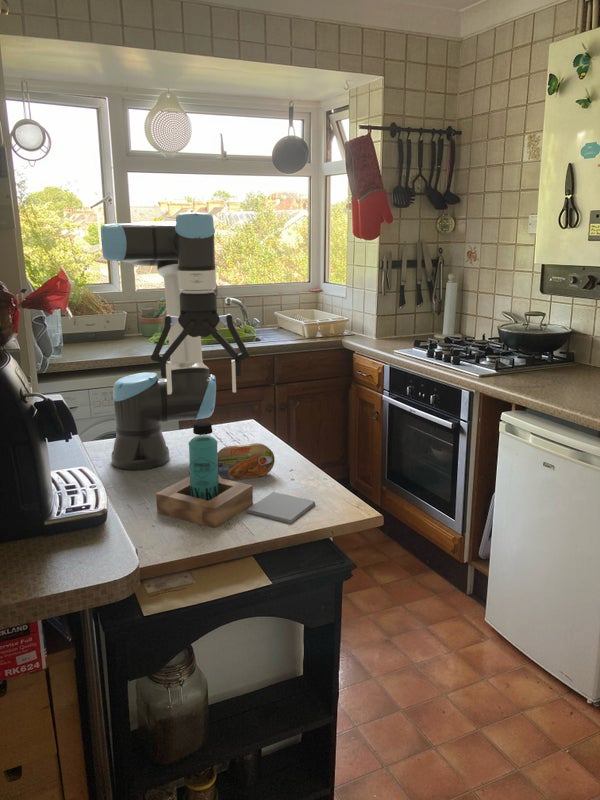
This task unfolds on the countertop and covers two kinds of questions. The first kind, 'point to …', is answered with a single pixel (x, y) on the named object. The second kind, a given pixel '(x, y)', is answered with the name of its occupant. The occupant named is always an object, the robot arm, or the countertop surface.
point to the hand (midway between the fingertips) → (202, 392)
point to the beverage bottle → (203, 462)
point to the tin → (245, 461)
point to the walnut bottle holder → (205, 502)
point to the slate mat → (281, 507)
